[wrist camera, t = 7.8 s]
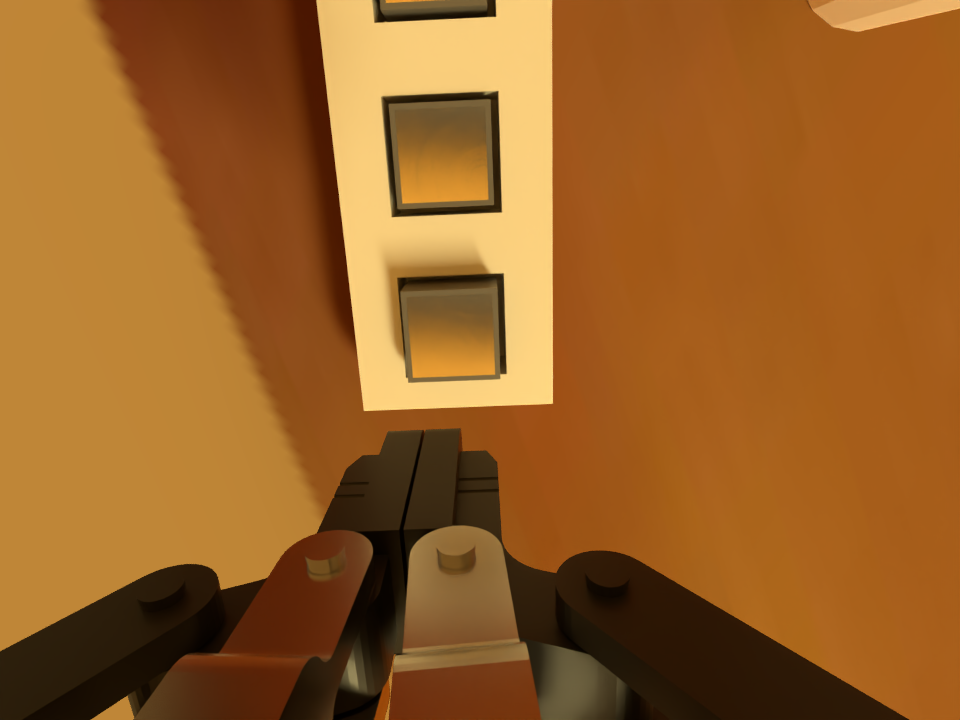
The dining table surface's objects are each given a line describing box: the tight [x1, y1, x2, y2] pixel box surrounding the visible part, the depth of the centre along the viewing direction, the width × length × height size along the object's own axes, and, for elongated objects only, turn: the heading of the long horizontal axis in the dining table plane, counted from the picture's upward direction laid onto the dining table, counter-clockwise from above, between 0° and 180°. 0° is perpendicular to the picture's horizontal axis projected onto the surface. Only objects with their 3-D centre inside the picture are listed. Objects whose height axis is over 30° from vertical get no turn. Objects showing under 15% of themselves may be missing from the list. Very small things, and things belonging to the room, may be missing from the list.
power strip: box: [316, 0, 553, 411], centre depth 22 cm, size 25×8×4 cm, turn 2°
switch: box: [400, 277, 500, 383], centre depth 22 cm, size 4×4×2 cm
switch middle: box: [389, 99, 494, 209], centre depth 21 cm, size 4×4×2 cm
